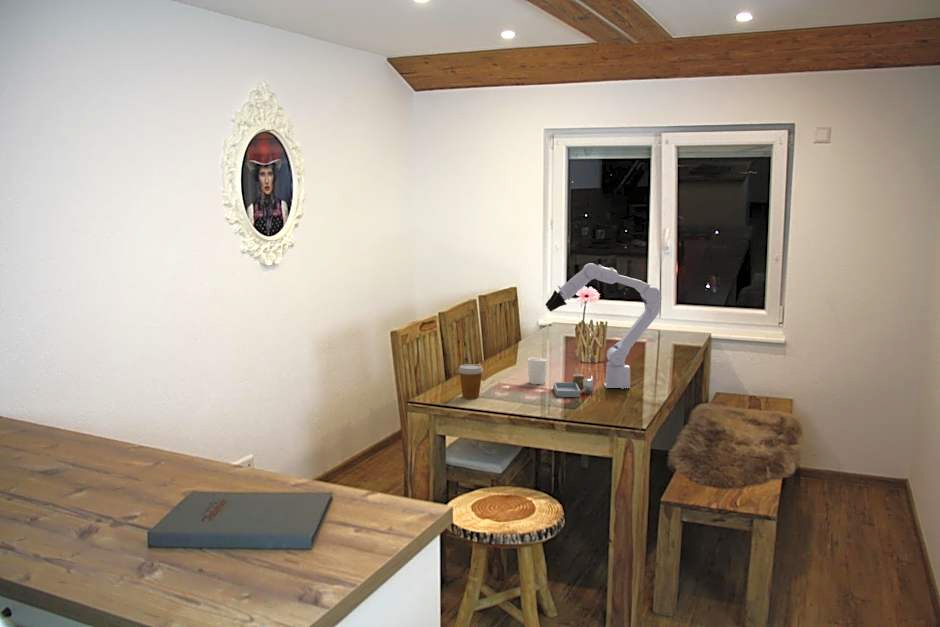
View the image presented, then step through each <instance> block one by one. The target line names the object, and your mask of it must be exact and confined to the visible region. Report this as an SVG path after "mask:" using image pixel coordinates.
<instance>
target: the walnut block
mask: <svg viewBox="0 0 940 627" xmlns="http://www.w3.org/2000/svg"><path fill="white" fill-rule="evenodd" d="M583 379H585V376H584V374H582V373H573V374H572V382H576V383H577V385H578V387H579V389H583Z"/></svg>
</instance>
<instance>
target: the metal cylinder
mask: <svg viewBox="0 0 940 627" xmlns="http://www.w3.org/2000/svg"><path fill="white" fill-rule="evenodd" d="M583 392H585V393H584V394H593V393H594V378H584V379H583V388H582V393H583ZM592 392H593V393H592Z"/></svg>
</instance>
